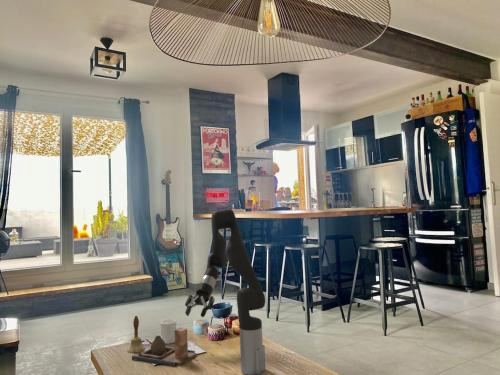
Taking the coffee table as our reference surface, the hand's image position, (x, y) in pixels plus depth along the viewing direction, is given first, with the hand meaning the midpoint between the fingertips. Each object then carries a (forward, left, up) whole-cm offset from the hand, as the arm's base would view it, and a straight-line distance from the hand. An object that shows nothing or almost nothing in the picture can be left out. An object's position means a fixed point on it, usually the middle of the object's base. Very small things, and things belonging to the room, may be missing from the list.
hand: (194, 315), depth 180 cm
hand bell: (+29, +8, -17) cm, 34 cm away
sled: (+7, +11, -16) cm, 21 cm away
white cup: (+21, -7, -17) cm, 28 cm away
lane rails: (+10, +11, -16) cm, 22 cm away
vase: (+13, +11, -17) cm, 24 cm away
